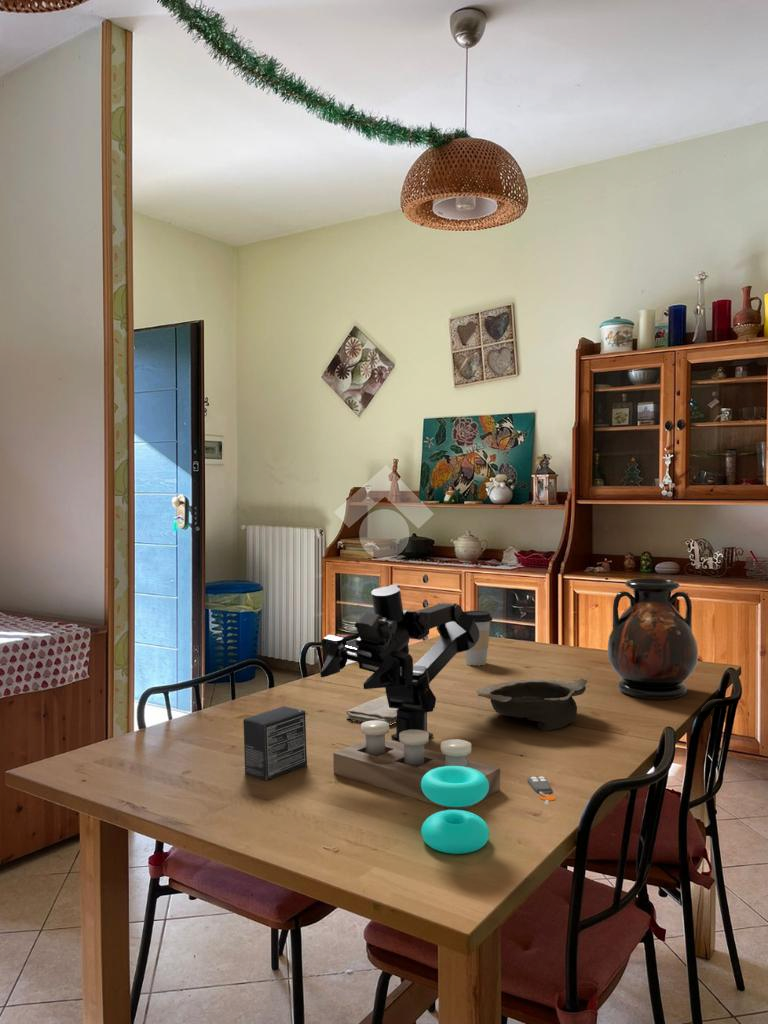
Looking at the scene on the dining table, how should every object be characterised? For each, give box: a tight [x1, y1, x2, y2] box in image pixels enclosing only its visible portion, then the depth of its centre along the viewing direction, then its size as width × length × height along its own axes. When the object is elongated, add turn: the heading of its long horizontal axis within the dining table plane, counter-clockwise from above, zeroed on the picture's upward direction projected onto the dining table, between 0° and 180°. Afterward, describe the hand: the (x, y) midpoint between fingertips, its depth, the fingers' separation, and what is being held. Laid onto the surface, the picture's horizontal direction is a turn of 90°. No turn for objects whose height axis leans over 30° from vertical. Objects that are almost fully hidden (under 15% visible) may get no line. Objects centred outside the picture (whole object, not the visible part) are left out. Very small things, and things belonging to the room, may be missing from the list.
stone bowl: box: [476, 678, 588, 732], centre depth 177 cm, size 25×25×9 cm
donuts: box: [420, 766, 490, 855], centre depth 117 cm, size 10×10×10 cm
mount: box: [332, 738, 501, 811], centre depth 141 cm, size 12×28×4 cm, turn 51°
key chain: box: [526, 775, 556, 805], centre depth 134 cm, size 13×4×2 cm, turn 4°
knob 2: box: [440, 738, 472, 767], centre depth 135 cm, size 5×5×5 cm
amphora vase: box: [607, 577, 699, 700], centre depth 198 cm, size 22×22×28 cm
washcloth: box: [346, 695, 398, 725], centre depth 182 cm, size 12×18×3 cm, turn 149°
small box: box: [242, 705, 308, 782], centre depth 147 cm, size 11×6×10 cm, turn 141°
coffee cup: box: [464, 610, 493, 667], centre depth 231 cm, size 9×9×15 cm
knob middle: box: [398, 730, 430, 767], centre depth 140 cm, size 5×5×5 cm
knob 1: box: [360, 720, 390, 756], centre depth 146 cm, size 5×5×5 cm
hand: (342, 680), depth 142 cm, fingers open, 9 cm apart
